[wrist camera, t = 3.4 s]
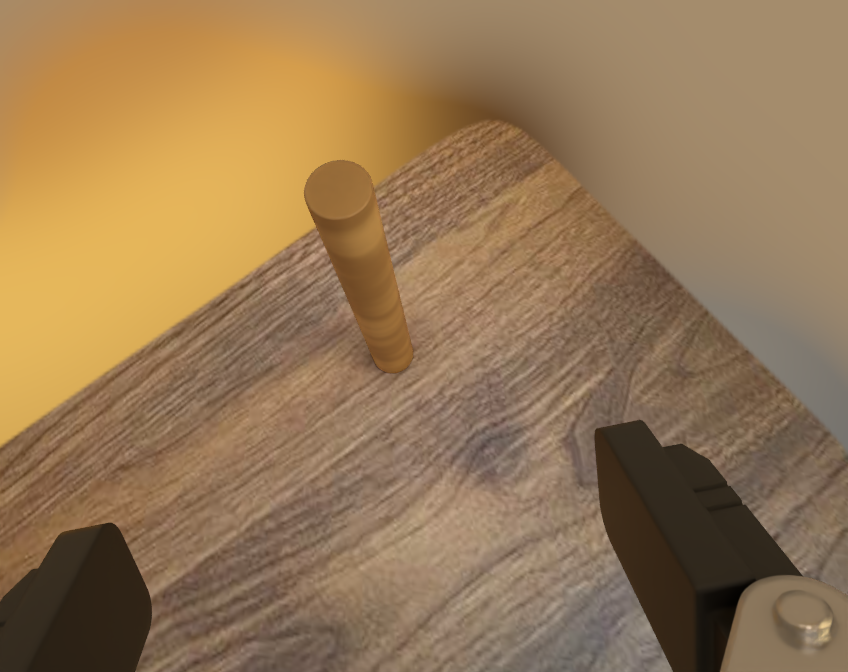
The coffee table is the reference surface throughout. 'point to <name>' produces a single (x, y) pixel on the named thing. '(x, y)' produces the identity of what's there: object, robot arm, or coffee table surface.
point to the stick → (361, 258)
